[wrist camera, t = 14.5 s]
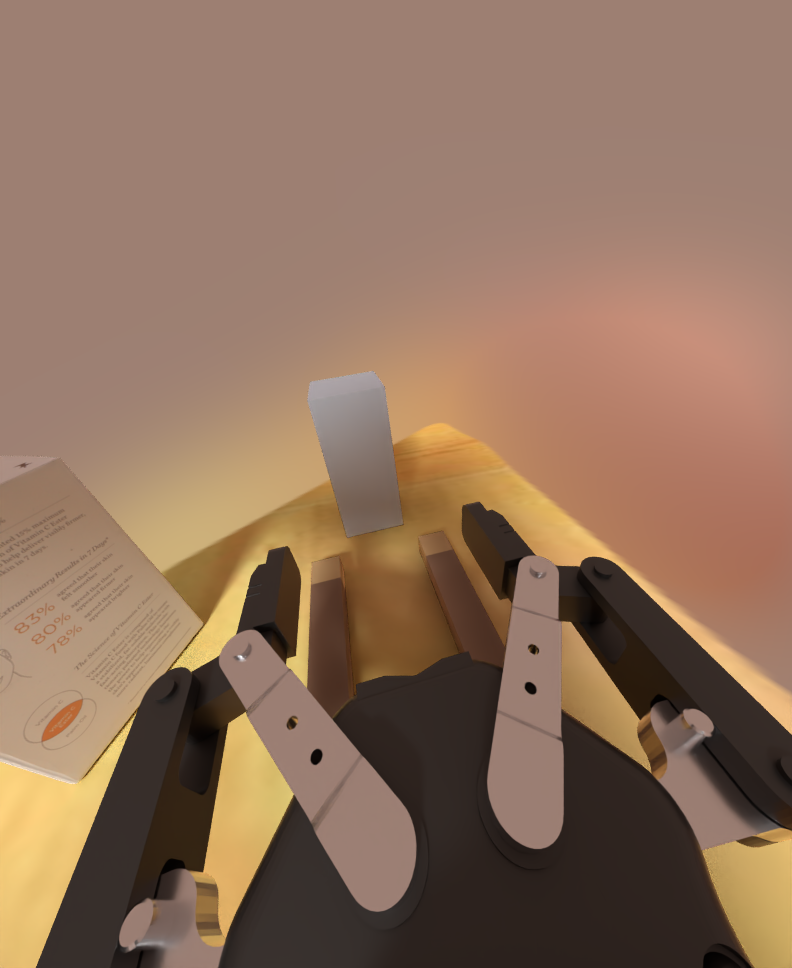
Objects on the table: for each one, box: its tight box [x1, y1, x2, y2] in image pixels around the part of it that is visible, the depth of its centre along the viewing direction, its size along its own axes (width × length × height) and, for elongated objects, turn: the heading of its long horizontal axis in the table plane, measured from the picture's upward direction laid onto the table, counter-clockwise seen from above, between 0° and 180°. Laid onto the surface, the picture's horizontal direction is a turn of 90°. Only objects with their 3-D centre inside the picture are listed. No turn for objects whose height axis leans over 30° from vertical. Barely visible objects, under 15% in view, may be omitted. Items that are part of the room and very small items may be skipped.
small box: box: [0, 456, 204, 784], centre depth 14 cm, size 8×6×13 cm
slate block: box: [308, 371, 403, 538], centre depth 24 cm, size 5×5×12 cm
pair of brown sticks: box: [307, 531, 505, 719], centre depth 16 cm, size 10×14×2 cm
